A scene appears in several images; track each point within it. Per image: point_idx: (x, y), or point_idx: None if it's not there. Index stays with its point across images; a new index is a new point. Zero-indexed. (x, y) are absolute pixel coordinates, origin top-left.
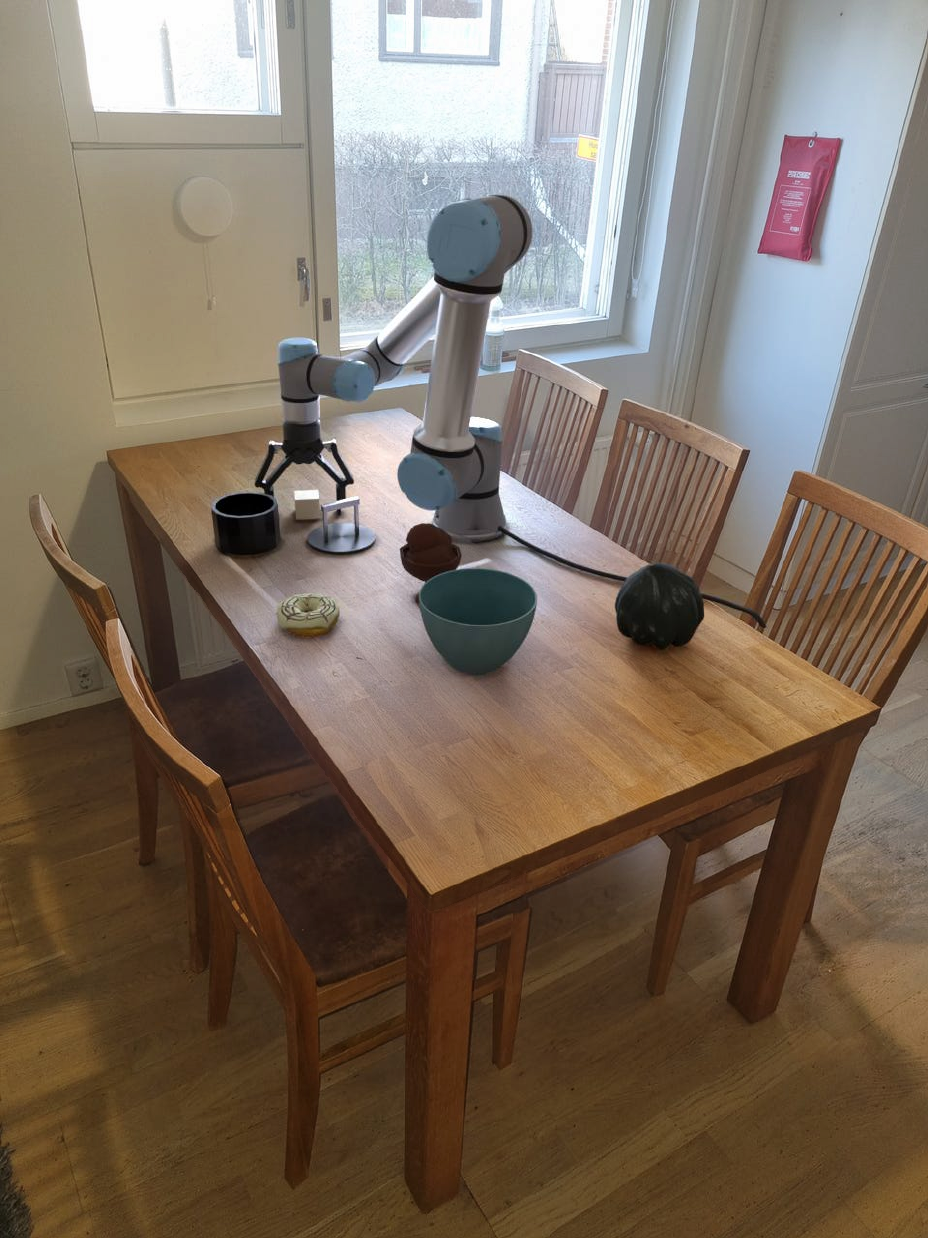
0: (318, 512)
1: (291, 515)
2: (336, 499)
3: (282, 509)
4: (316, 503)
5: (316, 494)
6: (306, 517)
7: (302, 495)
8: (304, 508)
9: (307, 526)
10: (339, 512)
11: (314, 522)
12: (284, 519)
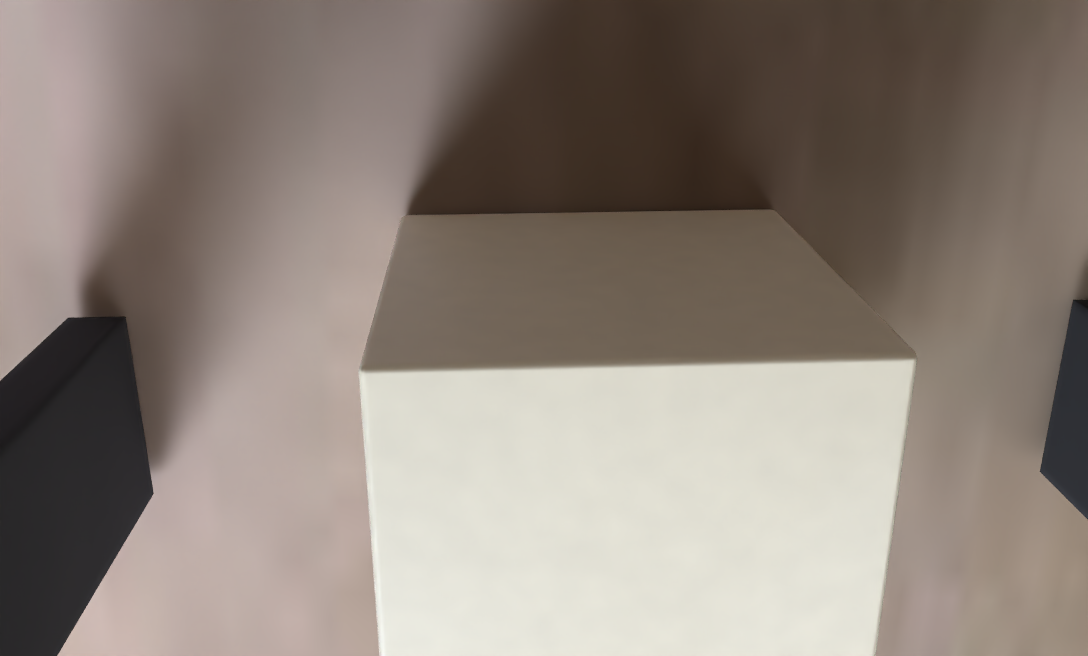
0: (411, 260)
1: None
2: (68, 600)
3: (912, 626)
4: (429, 323)
5: (420, 593)
6: (621, 232)
7: (723, 562)
8: (672, 285)
9: (610, 19)
10: (62, 345)
11: (492, 168)
12: (933, 317)
